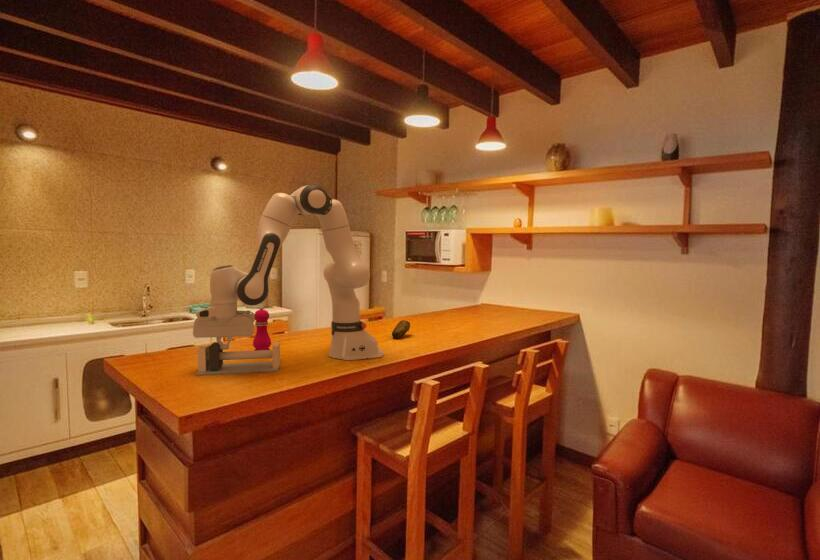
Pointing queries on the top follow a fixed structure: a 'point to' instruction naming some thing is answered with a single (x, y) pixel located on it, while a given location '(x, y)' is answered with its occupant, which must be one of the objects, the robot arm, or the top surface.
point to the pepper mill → (261, 330)
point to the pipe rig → (238, 355)
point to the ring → (215, 356)
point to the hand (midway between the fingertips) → (224, 349)
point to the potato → (401, 329)
